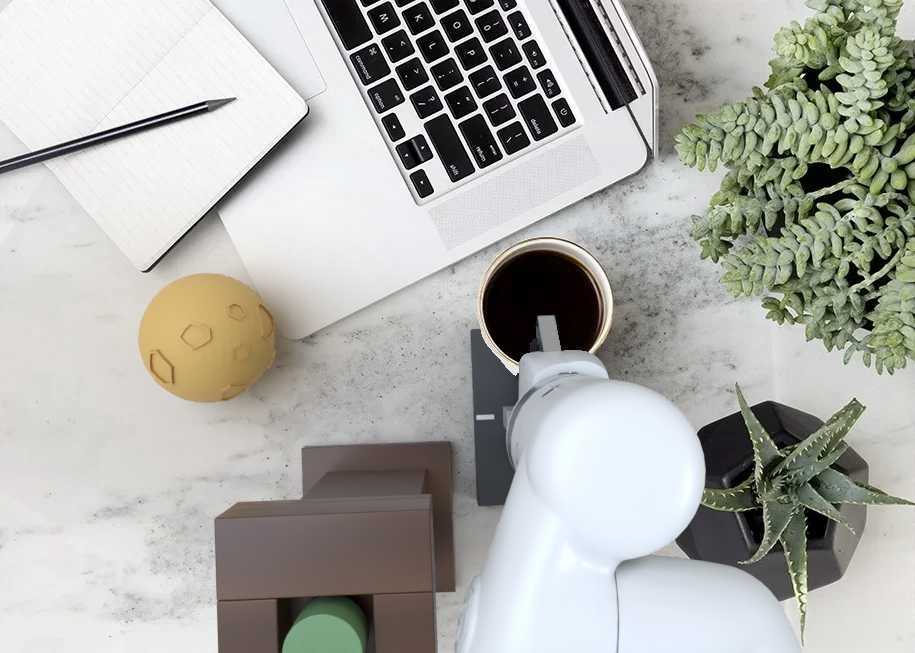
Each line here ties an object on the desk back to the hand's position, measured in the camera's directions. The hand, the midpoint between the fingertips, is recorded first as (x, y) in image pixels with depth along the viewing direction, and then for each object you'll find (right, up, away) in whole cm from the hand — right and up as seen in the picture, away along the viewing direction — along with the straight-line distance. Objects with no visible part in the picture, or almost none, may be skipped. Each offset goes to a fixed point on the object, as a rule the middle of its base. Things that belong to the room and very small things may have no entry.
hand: (538, 415), depth 62 cm
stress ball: (-25, +6, +3) cm, 26 cm away
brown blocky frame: (-12, -8, -22) cm, 26 cm away
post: (-13, -9, +2) cm, 16 cm away
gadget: (0, 0, +3) cm, 3 cm away
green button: (-12, -8, -24) cm, 28 cm away
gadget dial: (0, 0, 0) cm, 0 cm away
